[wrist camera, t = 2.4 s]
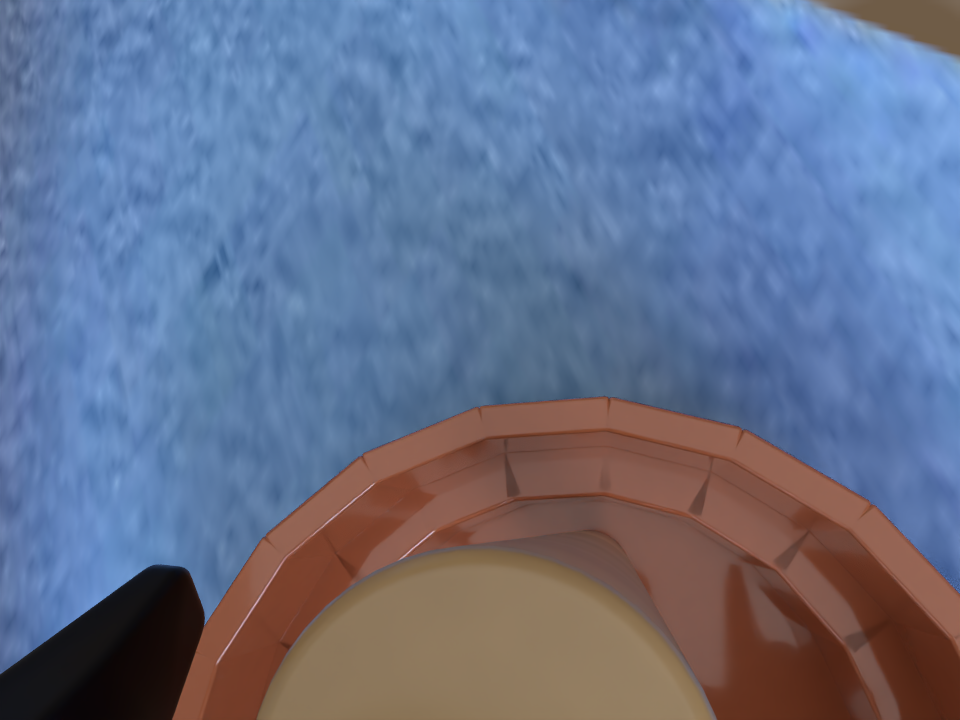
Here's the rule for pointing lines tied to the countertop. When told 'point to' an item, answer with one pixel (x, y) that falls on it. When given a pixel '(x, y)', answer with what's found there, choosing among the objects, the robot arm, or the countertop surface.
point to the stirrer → (492, 641)
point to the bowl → (647, 543)
